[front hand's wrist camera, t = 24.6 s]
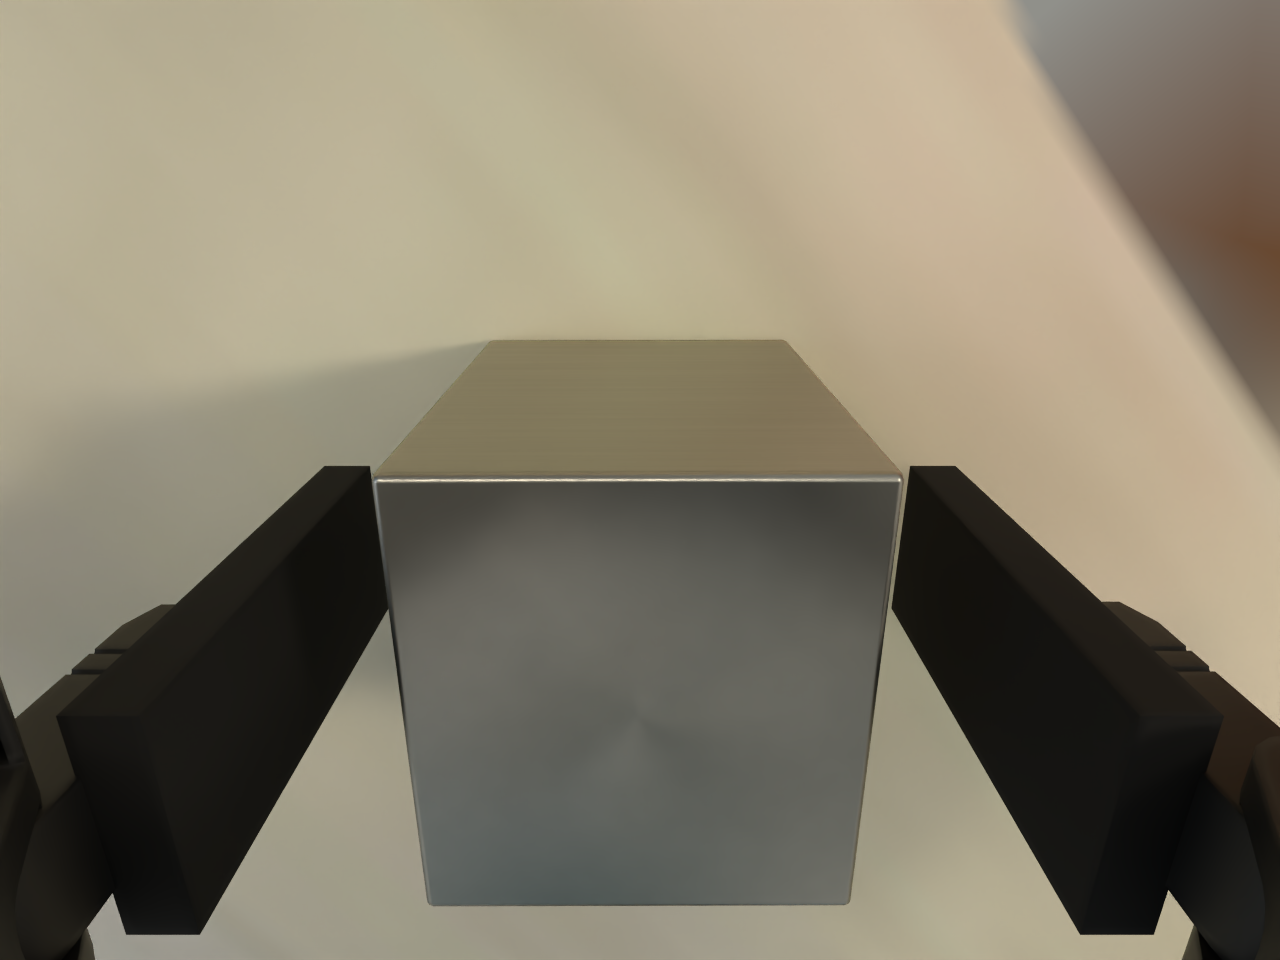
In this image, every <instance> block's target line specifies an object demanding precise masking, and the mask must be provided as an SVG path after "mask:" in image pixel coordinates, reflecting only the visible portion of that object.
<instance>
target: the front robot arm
mask: <svg viewBox="0 0 1280 960" xmlns="http://www.w3.org/2000/svg"><path fill="white" fill-rule="evenodd" d="M387 610H388V601H387V593H386V586H385V578H384V571H383V563H382V555H381V548H380V540H379V533H378V525H377V518H376V510H375V502H374V495H373V487H372V479H371V471H370V466H324V467H323V468H322V469H321V470H320V471H319V472H318V473H317V474H316V475H314V476H313V477H312V478H311V479H310V480H309V481H308V482H307V483H306V484H305V485H304V486H303V487H302V488H301V489H299V490H298V491H297V492H296V493H295V494H294V495H293V496H292V497H291V498H290V499H289V500H288V501H287V502H285V503H284V504H283V505H282V506H281V507H280V508H279V509H278V510H277V511H276V512H275V513H274V514H273V515H271V516H270V517H269V518H268V519H267V520H266V521H265V522H264V523H263V524H262V525H261V526H260V527H259V528H257V529H256V530H255V531H254V532H253V533H252V534H251V535H250V536H249V537H248V538H247V539H246V540H245V541H244V542H242V543H241V544H240V545H239V546H238V547H237V548H236V549H235V550H234V551H233V552H232V553H231V554H230V555H228V556H227V557H226V558H225V559H224V560H223V561H222V562H221V563H220V564H219V565H218V566H217V567H216V568H214V569H213V570H212V571H211V572H210V573H209V574H208V575H207V576H206V577H205V578H204V579H203V580H202V581H200V582H199V583H198V584H197V585H196V586H195V587H194V588H193V589H192V590H191V591H190V592H189V593H188V594H187V595H185V596H184V597H183V598H182V599H181V600H180V601H179V602H178V603H177V604H176V605H160V606H158V607H156V608H154V609H152V610H150V611H148V612H146V613H144V614H143V615H141V616H139V617H137V618H135V619H133V620H131V621H129V622H127V623H126V624H124V625H122V626H121V627H120V628H119V629H117V630H116V631H115V632H114V633H113V634H112V635H111V636H109V637H108V638H107V639H106V640H105V641H104V642H103V643H101V644H100V645H99V646H98V647H97V648H96V649H95V653H94V654H89V655H88V656H87V657H85V658H84V659H83V660H82V661H81V662H80V663H79V664H77V665H76V666H75V667H74V668H73V669H72V673H71V675H65V676H64V677H63V678H61V679H60V680H59V681H58V682H57V683H56V684H55V685H53V686H52V687H51V688H50V689H49V690H48V691H47V692H45V693H44V694H43V695H42V696H41V697H40V698H39V699H37V700H36V701H35V702H34V703H33V704H32V705H31V706H29V707H28V708H27V709H26V710H25V711H24V712H22V713H21V714H20V715H19V716H18V717H17V718H16V719H15V718H14V715H13V712H12V709H11V706H10V704H9V701H8V698H7V695H6V692H5V689H4V686H3V683H2V680H1V677H0V960H95V956H94V950H93V944H92V941H91V938H90V935H89V932H88V929H87V927H88V926H89V924H90V923H91V922H92V920H93V919H94V917H95V916H96V915H97V913H98V912H99V911H100V909H101V908H102V907H103V905H104V904H105V902H106V901H107V900H108V898H109V897H110V896H111V894H112V893H113V895H114V898H115V901H116V905H117V908H118V911H119V914H120V917H121V920H122V923H123V926H124V929H125V932H126V935H200V933H201V932H202V930H203V928H204V927H205V925H206V923H207V921H208V920H209V918H210V916H211V914H212V913H213V911H214V909H215V908H216V906H217V904H218V902H219V901H220V899H221V897H222V895H223V894H224V892H225V890H226V888H227V887H228V885H229V883H230V882H231V880H232V878H233V876H234V875H235V873H236V871H237V869H238V868H239V866H240V864H241V863H242V861H243V859H244V857H245V856H246V854H247V852H248V850H249V849H250V847H251V845H252V843H253V842H254V840H255V838H256V837H257V835H258V833H259V831H260V830H261V828H262V826H263V824H264V823H265V821H266V819H267V818H268V816H269V814H270V812H271V811H272V809H273V807H274V805H275V804H276V802H277V800H278V798H279V797H280V795H281V793H282V792H283V790H284V788H285V786H286V785H287V783H288V781H289V779H290V778H291V776H292V774H293V773H294V771H295V769H296V767H297V766H298V764H299V762H300V760H301V759H302V757H303V755H304V753H305V752H306V750H307V748H308V747H309V745H310V743H311V741H312V740H313V738H314V736H315V734H316V733H317V731H318V729H319V728H320V726H321V724H322V722H323V721H324V719H325V717H326V715H327V714H328V712H329V710H330V708H331V707H332V705H333V703H334V702H335V700H336V698H337V696H338V695H339V693H340V691H341V689H342V688H343V686H344V684H345V683H346V681H347V679H348V677H349V676H350V674H351V672H352V670H353V669H354V667H355V665H356V663H357V662H358V660H359V658H360V657H361V655H362V653H363V651H364V650H365V648H366V646H367V644H368V643H369V641H370V639H371V638H372V636H373V634H374V632H375V631H376V629H377V627H378V625H379V624H380V622H381V620H382V618H383V617H384V615H385V613H386V612H387ZM892 610H893V612H894V613H895V615H896V617H897V619H898V620H899V622H900V624H901V625H902V627H903V629H904V631H905V632H906V634H907V636H908V638H909V639H910V641H911V643H912V644H913V646H914V648H915V650H916V651H917V653H918V655H919V657H920V658H921V660H922V662H923V664H924V665H925V667H926V669H927V670H928V672H929V674H930V676H931V677H932V679H933V681H934V683H935V684H936V686H937V688H938V689H939V691H940V693H941V695H942V696H943V698H944V700H945V702H946V703H947V705H948V707H949V709H950V710H951V712H952V714H953V715H954V717H955V719H956V721H957V722H958V724H959V726H960V728H961V729H962V731H963V733H964V734H965V736H966V738H967V740H968V741H969V743H970V745H971V747H972V748H973V750H974V752H975V754H976V755H977V757H978V759H979V760H980V762H981V764H982V766H983V767H984V769H985V771H986V773H987V774H988V776H989V778H990V779H991V781H992V783H993V785H994V786H995V788H996V790H997V792H998V793H999V795H1000V797H1001V798H1002V800H1003V802H1004V804H1005V805H1006V807H1007V809H1008V811H1009V812H1010V814H1011V816H1012V818H1013V819H1014V821H1015V823H1016V824H1017V826H1018V828H1019V830H1020V831H1021V833H1022V835H1023V837H1024V838H1025V840H1026V842H1027V843H1028V845H1029V847H1030V849H1031V850H1032V852H1033V854H1034V856H1035V857H1036V859H1037V861H1038V863H1039V864H1040V866H1041V868H1042V869H1043V871H1044V873H1045V875H1046V876H1047V878H1048V880H1049V882H1050V883H1051V885H1052V887H1053V888H1054V890H1055V892H1056V894H1057V895H1058V897H1059V899H1060V901H1061V902H1062V904H1063V906H1064V908H1065V909H1066V911H1067V913H1068V914H1069V916H1070V918H1071V920H1072V921H1073V923H1074V925H1075V927H1076V928H1077V930H1078V932H1079V933H1080V935H1154V932H1155V929H1156V926H1157V923H1158V920H1159V917H1160V914H1161V911H1162V908H1163V904H1164V901H1165V898H1166V895H1167V892H1168V890H1169V891H1170V893H1171V894H1172V895H1173V897H1174V898H1175V899H1176V901H1177V902H1178V903H1179V905H1180V906H1181V908H1182V909H1183V910H1184V912H1185V913H1186V914H1187V916H1188V917H1189V918H1190V920H1191V921H1192V922H1193V924H1194V926H1193V929H1192V932H1191V935H1190V938H1189V941H1188V944H1187V947H1186V950H1185V952H1184V955H1183V958H1182V960H1280V727H1278V726H1277V725H1276V724H1275V723H1274V722H1273V721H1271V720H1270V719H1269V718H1268V717H1267V716H1266V715H1265V714H1263V713H1262V712H1261V711H1260V710H1259V709H1258V708H1257V707H1255V706H1254V705H1253V704H1252V703H1251V702H1250V701H1248V700H1247V699H1246V698H1245V697H1244V696H1243V695H1242V694H1240V693H1239V692H1238V691H1237V690H1236V689H1235V688H1233V687H1232V686H1231V685H1230V684H1229V683H1228V682H1227V681H1225V680H1224V679H1223V678H1222V677H1221V676H1220V675H1218V674H1217V673H1216V672H1210V671H1209V666H1208V665H1207V664H1206V663H1205V662H1203V661H1202V660H1201V659H1200V658H1199V657H1198V656H1197V655H1195V654H1194V653H1193V652H1192V651H1186V646H1185V645H1184V644H1183V643H1182V642H1180V641H1179V640H1178V639H1177V638H1176V637H1175V636H1173V635H1172V634H1171V633H1170V632H1169V631H1168V630H1167V629H1165V628H1164V627H1163V626H1162V625H1161V624H1160V623H1158V622H1157V621H1155V620H1153V619H1151V618H1149V617H1147V616H1145V615H1143V614H1141V613H1140V612H1138V611H1136V610H1134V609H1132V608H1130V607H1128V606H1126V605H1124V604H1122V603H1120V602H1101V601H1100V600H1099V599H1098V598H1097V597H1096V596H1095V595H1093V594H1092V593H1091V592H1090V591H1089V590H1088V589H1087V588H1086V587H1085V586H1084V585H1083V584H1082V583H1081V582H1079V581H1078V580H1077V579H1076V578H1075V577H1074V576H1073V575H1072V574H1071V573H1070V572H1069V571H1068V570H1067V569H1066V568H1064V567H1063V566H1062V565H1061V564H1060V563H1059V562H1058V561H1057V560H1056V559H1055V558H1054V557H1053V556H1052V555H1050V554H1049V553H1048V552H1047V551H1046V550H1045V549H1044V548H1043V547H1042V546H1041V545H1040V544H1039V543H1038V542H1036V541H1035V540H1034V539H1033V538H1032V537H1031V536H1030V535H1029V534H1028V533H1027V532H1026V531H1025V530H1024V529H1022V528H1021V527H1020V526H1019V525H1018V524H1017V523H1016V522H1015V521H1014V520H1013V519H1012V518H1011V517H1010V516H1009V515H1007V514H1006V513H1005V512H1004V511H1003V510H1002V509H1001V508H1000V507H999V506H998V505H997V504H996V503H995V502H993V501H992V500H991V499H990V498H989V497H988V496H987V495H986V494H985V493H984V492H983V491H982V490H981V489H979V488H978V487H977V486H976V485H975V484H974V483H973V482H972V481H971V480H970V479H969V478H968V477H967V476H965V475H964V474H963V473H962V472H961V471H960V470H959V469H958V468H957V467H956V466H910V471H909V479H908V486H907V494H906V502H905V509H904V517H903V525H902V532H901V540H900V547H899V555H898V563H897V570H896V578H895V586H894V593H893V601H892Z"/></svg>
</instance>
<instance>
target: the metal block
mask: <svg viewBox="0 0 1280 960" xmlns="http://www.w3.org/2000/svg"><path fill="white" fill-rule="evenodd" d="M903 482H904V479H903V475H902V473H901V472H900V471H899V469H898V468H897V467H896V466H895V465H894V464H893V463H892V462H891V460H890V459H889V458H888V457H887V456H886V455H885V454H884V452H883V451H882V450H881V449H880V448H879V447H878V446H877V444H876V443H875V442H874V441H873V440H872V439H871V438H870V436H869V435H868V434H867V433H866V432H865V431H864V430H863V428H862V427H861V426H860V425H859V424H858V423H857V422H856V420H855V419H854V418H853V417H852V416H851V415H850V414H849V412H848V411H847V410H846V409H845V408H844V407H843V406H842V404H841V403H840V402H839V401H838V400H837V399H836V398H835V397H834V395H833V394H832V393H831V392H830V391H829V390H828V389H827V387H826V386H825V385H824V384H823V383H822V382H821V381H820V379H819V378H818V377H817V376H816V375H815V374H814V373H813V371H812V370H811V369H810V368H809V367H808V366H807V365H806V363H805V362H804V361H803V360H802V359H801V358H800V357H799V355H798V354H797V353H796V352H795V351H794V350H793V349H792V347H791V346H790V345H789V344H788V343H787V342H786V341H784V340H510V341H491V342H489V343H488V345H487V346H486V347H485V348H484V349H483V350H482V351H481V353H480V354H479V355H478V356H477V357H476V358H475V359H474V361H473V362H472V363H471V364H470V365H469V366H468V367H467V368H466V370H465V371H464V372H463V373H462V374H461V375H460V376H459V378H458V379H457V380H456V381H455V382H454V383H453V384H452V386H451V387H450V388H449V389H448V390H447V391H446V392H445V394H444V395H443V396H442V397H441V398H440V399H439V400H438V402H437V403H436V404H435V405H434V406H433V407H432V408H431V409H430V411H429V412H428V413H427V414H426V415H425V416H424V417H423V419H422V420H421V421H420V422H419V423H418V424H417V425H416V427H415V428H414V429H413V430H412V431H411V432H410V433H409V435H408V436H407V437H406V438H405V439H404V440H403V441H402V442H401V444H400V445H399V446H398V447H397V448H396V449H395V450H394V452H393V453H392V454H391V455H390V456H389V457H388V458H387V460H386V461H385V462H384V463H383V464H382V465H381V466H380V468H379V469H378V470H377V471H376V472H375V473H374V474H373V478H372V487H373V495H374V502H375V510H376V518H377V525H378V533H379V540H380V548H381V555H382V563H383V570H384V578H385V586H386V593H387V601H388V608H389V616H390V623H391V631H392V638H393V646H394V653H395V661H396V669H397V676H398V684H399V691H400V699H401V706H402V714H403V721H404V729H405V736H406V744H407V752H408V759H409V767H410V774H411V782H412V789H413V797H414V804H415V812H416V820H417V827H418V835H419V842H420V850H421V857H422V865H423V872H424V880H425V887H426V895H427V901H428V903H429V905H432V906H707V905H846V904H848V903H849V902H850V898H851V890H852V882H853V875H854V867H855V859H856V851H857V843H858V835H859V827H860V820H861V812H862V804H863V796H864V788H865V780H866V772H867V765H868V757H869V749H870V741H871V733H872V725H873V717H874V710H875V702H876V694H877V686H878V678H879V670H880V662H881V655H882V647H883V639H884V631H885V623H886V615H887V608H888V600H889V592H890V584H891V576H892V568H893V560H894V553H895V545H896V537H897V529H898V521H899V513H900V505H901V498H902V490H903Z"/></svg>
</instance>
